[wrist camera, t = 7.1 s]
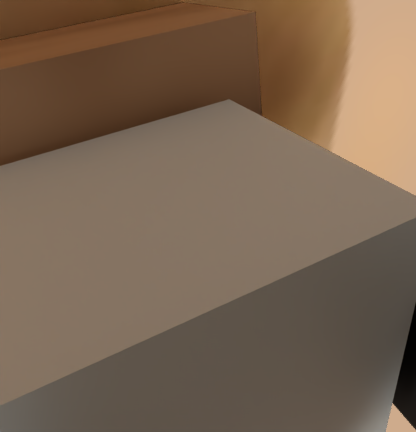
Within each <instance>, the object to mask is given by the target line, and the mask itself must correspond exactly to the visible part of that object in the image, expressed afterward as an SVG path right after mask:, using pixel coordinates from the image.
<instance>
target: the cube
mask: <svg viewBox="0 0 416 432" xmlns="http://www.w3.org/2000/svg"><path fill="white" fill-rule="evenodd" d="M415 303H416V196H415V195H413V194H411V193H409V192H407V191H405V190H403V189H401V188H399V187H398V186H396V185H394V184H392V183H390V182H388V181H386V180H384V179H382V178H380V177H378V176H376V175H374V174H372V173H371V172H368V171H367V170H365V169H363V168H361V167H359V166H357V165H355V164H353V163H351V162H349V161H347V160H345V159H344V158H342V157H340V156H338V155H336V154H334V153H332V152H330V151H328V150H326V149H324V148H322V147H320V146H318V145H317V144H315V143H313V142H311V141H309V140H307V139H305V138H303V137H301V136H299V135H297V134H295V133H293V132H291V131H290V130H288V129H286V128H284V127H282V126H280V125H278V124H276V123H274V122H272V121H270V120H268V119H266V118H264V117H263V116H261V115H259V114H257V113H255V112H253V111H251V110H249V109H247V108H245V107H243V106H241V105H239V104H237V103H236V102H234V101H232V100H230V99H228V100H225V101H221V102H218V103H214V104H211V105H207V106H204V107H201V108H197V109H194V110H190V111H187V112H183V113H180V114H177V115H173V116H170V117H166V118H163V119H159V120H156V121H153V122H149V123H146V124H142V125H139V126H135V127H132V128H129V129H125V130H122V131H118V132H115V133H111V134H108V135H105V136H101V137H98V138H94V139H91V140H88V141H84V142H81V143H77V144H74V145H70V146H67V147H64V148H60V149H57V150H53V151H50V152H46V153H43V154H40V155H36V156H33V157H29V158H26V159H22V160H19V161H16V162H12V163H9V164H5V165H2V166H0V432H386V428H387V423H388V419H389V414H390V410H391V406H392V402H393V398H394V393H395V389H396V385H397V380H398V376H399V372H400V368H401V363H402V359H403V355H404V350H405V346H406V342H407V338H408V333H409V329H410V325H411V320H412V316H413V312H414V308H415Z"/></svg>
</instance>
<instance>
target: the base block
mask: <svg viewBox="0 0 416 432" xmlns="http://www.w3.org/2000/svg"><path fill="white" fill-rule="evenodd" d="M228 99H230V100H232V101H234V102H236V103H237V104H239V105H241V106H243V107H245V108H247V109H249V110H251V111H253V112H255V113H257V114H259V115H261V116H262V110H261V93H260V77H259V60H258V43H257V26H256V12H253V11H246V10H238V9H230V8H222V7H215V6H207V5H199V4H191V3H184V2H183V3H178V4H173V5H169V6H164V7H159V8H154V9H149V10H144V11H139V12H135V13H130V14H125V15H120V16H115V17H110V18H106V19H101V20H96V21H91V22H86V23H81V24H76V25H72V26H67V27H62V28H57V29H52V30H47V31H43V32H38V33H33V34H28V35H23V36H18V37H13V38H9V39H4V40H0V166H2V165H5V164H9V163H12V162H16V161H19V160H22V159H26V158H29V157H33V156H36V155H40V154H43V153H46V152H50V151H53V150H57V149H60V148H64V147H67V146H70V145H74V144H77V143H81V142H84V141H88V140H91V139H94V138H98V137H101V136H105V135H108V134H111V133H115V132H118V131H122V130H125V129H129V128H132V127H135V126H139V125H142V124H146V123H149V122H153V121H156V120H159V119H163V118H166V117H170V116H173V115H177V114H180V113H183V112H187V111H190V110H194V109H197V108H201V107H204V106H207V105H211V104H214V103H218V102H221V101H225V100H228Z"/></svg>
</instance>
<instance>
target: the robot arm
mask: <svg viewBox="0 0 416 432" xmlns="http://www.w3.org/2000/svg"><path fill="white" fill-rule="evenodd" d="M392 403H393V404H394V405H395V406H396V407H397V409H398V410H399V411H400V412H401V413H402V414H403V416H404V417H405V418H406V419H407V420H408V421H409V423H410V424H411V425H412V426H413V427H414V428H415V429H416V303H415V308H414V312H413V316H412V320H411V325H410V329H409V333H408V338H407V342H406V346H405V350H404V355H403V359H402V363H401V368H400V372H399V376H398V380H397V385H396V389H395V393H394V398H393V402H392Z"/></svg>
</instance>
